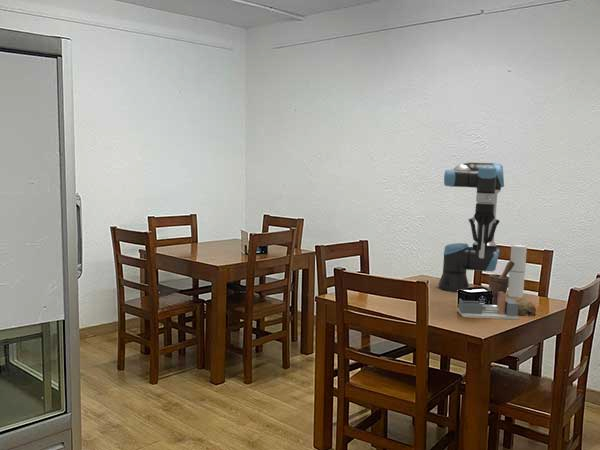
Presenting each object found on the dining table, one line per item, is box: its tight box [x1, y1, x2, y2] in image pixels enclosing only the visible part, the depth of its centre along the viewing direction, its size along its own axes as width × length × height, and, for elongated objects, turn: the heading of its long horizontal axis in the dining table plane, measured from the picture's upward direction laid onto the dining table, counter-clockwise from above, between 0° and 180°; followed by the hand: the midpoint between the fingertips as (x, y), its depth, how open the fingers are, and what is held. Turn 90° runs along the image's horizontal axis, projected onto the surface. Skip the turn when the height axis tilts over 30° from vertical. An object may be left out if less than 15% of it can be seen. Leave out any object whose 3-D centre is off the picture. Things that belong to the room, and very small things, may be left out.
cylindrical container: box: [507, 244, 528, 299], centre depth 301 cm, size 7×7×25 cm
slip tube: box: [481, 291, 507, 314], centre depth 264 cm, size 4×14×9 cm, turn 88°
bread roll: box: [515, 298, 537, 317], centre depth 269 cm, size 10×10×8 cm
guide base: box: [456, 297, 519, 320], centre depth 264 cm, size 12×23×6 cm, turn 88°
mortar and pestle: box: [488, 260, 514, 305], centre depth 285 cm, size 12×9×20 cm
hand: (481, 257), depth 264 cm, fingers closed
